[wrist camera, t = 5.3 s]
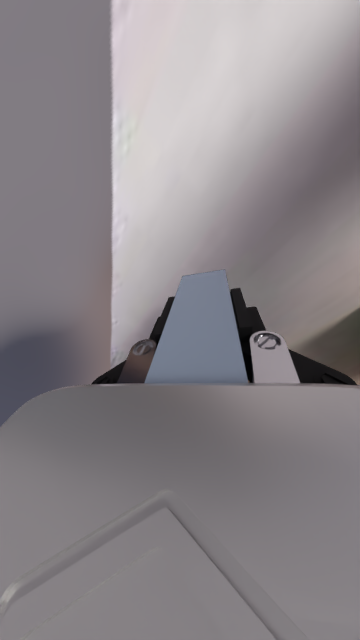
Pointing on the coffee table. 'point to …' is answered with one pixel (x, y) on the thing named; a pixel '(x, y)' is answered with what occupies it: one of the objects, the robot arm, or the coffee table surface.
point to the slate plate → (200, 335)
